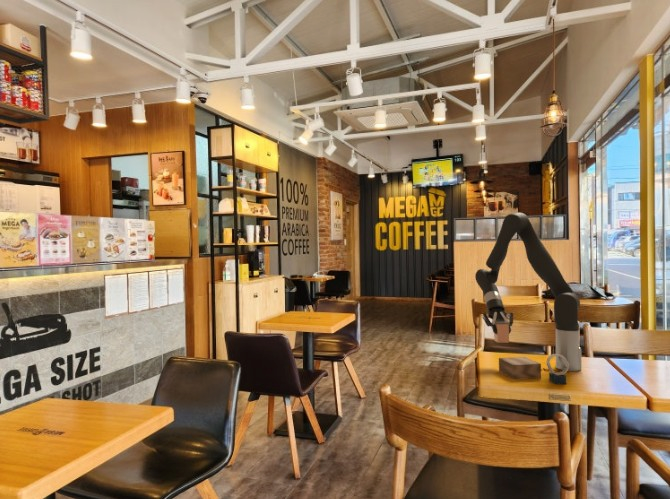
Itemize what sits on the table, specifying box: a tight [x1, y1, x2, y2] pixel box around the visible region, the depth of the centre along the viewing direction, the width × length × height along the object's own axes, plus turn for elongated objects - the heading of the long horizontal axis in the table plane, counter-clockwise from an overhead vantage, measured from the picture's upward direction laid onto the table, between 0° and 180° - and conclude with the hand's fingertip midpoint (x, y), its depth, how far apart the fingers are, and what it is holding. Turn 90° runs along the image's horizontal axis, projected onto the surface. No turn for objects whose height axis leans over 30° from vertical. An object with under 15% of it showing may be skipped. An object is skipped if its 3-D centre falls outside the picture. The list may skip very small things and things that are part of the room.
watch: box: [546, 353, 569, 385], centre depth 180 cm, size 6×8×11 cm
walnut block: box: [498, 356, 542, 380], centre depth 191 cm, size 12×12×6 cm
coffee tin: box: [493, 321, 510, 344], centre depth 205 cm, size 5×5×9 cm
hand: (502, 332), depth 203 cm, fingers closed on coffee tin, 5 cm apart
